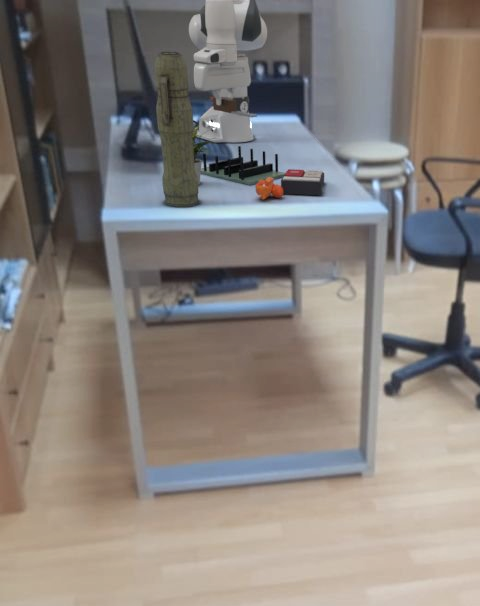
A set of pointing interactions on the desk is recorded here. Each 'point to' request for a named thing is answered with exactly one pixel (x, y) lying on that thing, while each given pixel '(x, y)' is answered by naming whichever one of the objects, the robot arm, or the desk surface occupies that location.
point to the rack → (242, 169)
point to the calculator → (302, 182)
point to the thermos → (176, 130)
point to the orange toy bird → (268, 188)
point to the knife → (230, 107)
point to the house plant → (196, 150)
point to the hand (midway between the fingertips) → (224, 104)
